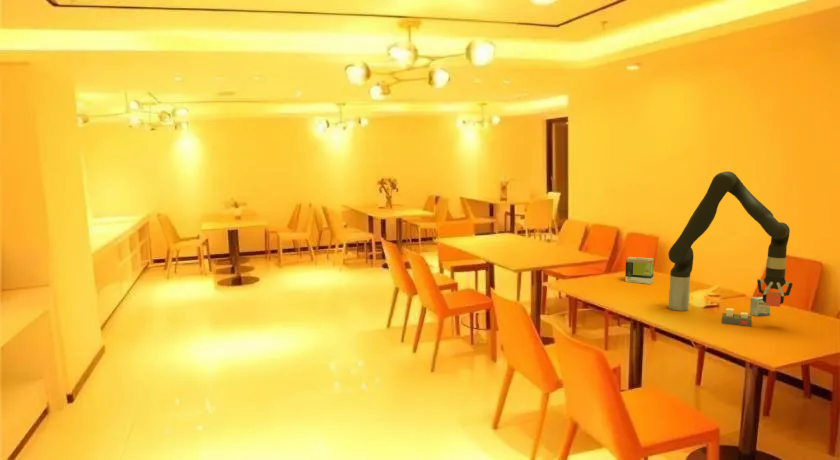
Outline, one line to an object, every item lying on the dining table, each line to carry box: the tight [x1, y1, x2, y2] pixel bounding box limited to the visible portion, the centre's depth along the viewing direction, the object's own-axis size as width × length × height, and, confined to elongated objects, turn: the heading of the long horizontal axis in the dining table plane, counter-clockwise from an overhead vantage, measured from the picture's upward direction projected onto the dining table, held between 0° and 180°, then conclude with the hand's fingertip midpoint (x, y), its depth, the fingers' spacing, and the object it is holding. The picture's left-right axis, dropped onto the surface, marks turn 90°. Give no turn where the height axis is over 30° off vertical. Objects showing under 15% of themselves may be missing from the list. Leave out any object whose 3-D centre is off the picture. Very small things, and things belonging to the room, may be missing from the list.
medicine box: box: [749, 296, 771, 317], centre depth 276 cm, size 8×4×9 cm, turn 105°
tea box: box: [624, 256, 655, 285], centre depth 350 cm, size 15×10×15 cm
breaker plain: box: [725, 307, 734, 317], centre depth 265 cm, size 3×3×4 cm
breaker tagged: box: [739, 311, 749, 319], centre depth 263 cm, size 3×3×4 cm
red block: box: [766, 290, 781, 308], centre depth 256 cm, size 5×5×6 cm
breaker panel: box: [721, 312, 753, 327], centre depth 264 cm, size 12×8×3 cm
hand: (772, 302), depth 256 cm, fingers closed on red block, 5 cm apart
